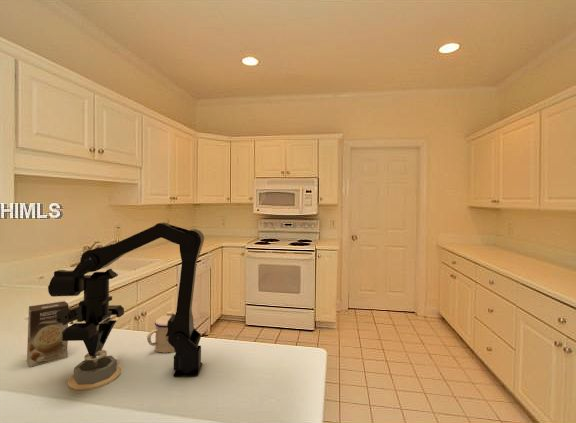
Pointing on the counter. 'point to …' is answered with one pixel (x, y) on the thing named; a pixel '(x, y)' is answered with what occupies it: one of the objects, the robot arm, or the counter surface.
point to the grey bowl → (94, 374)
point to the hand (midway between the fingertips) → (95, 353)
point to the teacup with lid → (161, 334)
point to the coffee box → (45, 334)
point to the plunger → (96, 355)
